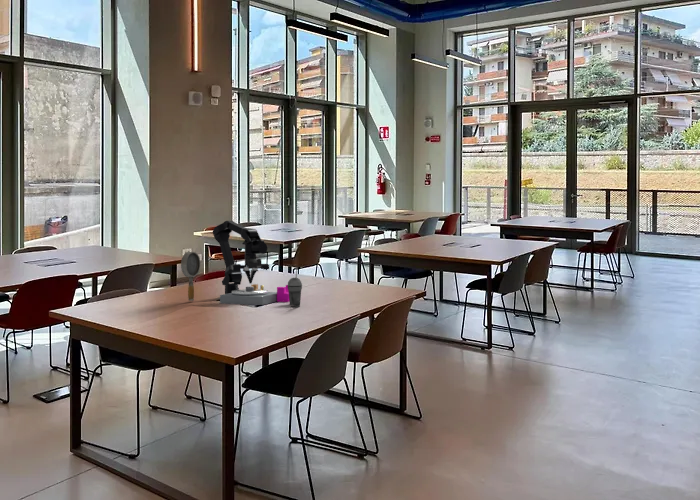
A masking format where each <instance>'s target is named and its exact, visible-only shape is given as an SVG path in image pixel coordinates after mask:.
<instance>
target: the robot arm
mask: <svg viewBox="0 0 700 500" xmlns="http://www.w3.org/2000/svg"><path fill="white" fill-rule="evenodd" d="M232 232H234V233H236V234H238V235H240V237H241V239H243V240H244V241H243V242H242V245H244V265H243V264H240V263H235V260H234V256H233V252H232V249H231V246H230V245H231V244H230V242H229V239H230V236H231V235H230V234H231V233H232ZM212 235H213V237H214V239H215V241H216V242H217V243H218V244H219V247H220V251H221V254H222V258H223V261H224V265H225V270H224V278H223V279H222V281H221V284H222V286H224V294H229V293H232V291H233V290H240V288H239V285H241V283H242V278H243V275H242V274H243V273H242V272H244V273H245V275H246V277H247V280H248V283H249V284H251V285H252V284H253V283H252V282H253V280H254V277H255V275H256V273H257V272H259V269H260V270H270V265H269V264H268V263H262V258H257V254H260V255H264V254H266V253H267V252H268V246H267V244H266V242H265V240H262V238H261V237H260V234H259V232H258V230H257V229H255V228H251V227H250V228H249V227H245V226H243V225H241V224H239V223H237V222H235V221H234V220H225V221H224V222H222V223H220V224H218V225H216V226H215V227H214V228H213V230H212ZM250 269H251V270H250Z"/></svg>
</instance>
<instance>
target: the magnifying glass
mask: <svg viewBox="0 0 700 500" xmlns="http://www.w3.org/2000/svg"><path fill="white" fill-rule="evenodd" d="M180 261H181V262H180V269H181V272H182V274H183V276H185V277H187V278H188V287H187V289H188V290H187V296H188V297H187V299H188V301H189V302H190V301H191V302H193V301H195V299H194V298H195V288H194V280H193V279H194V277H196V276H197V275H198V274H199V273H200V269H201V259H200V256H199V254H198V253H197V252H196V251H186V252H185V253H184V254H183V255H182V256H181V260H180Z"/></svg>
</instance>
